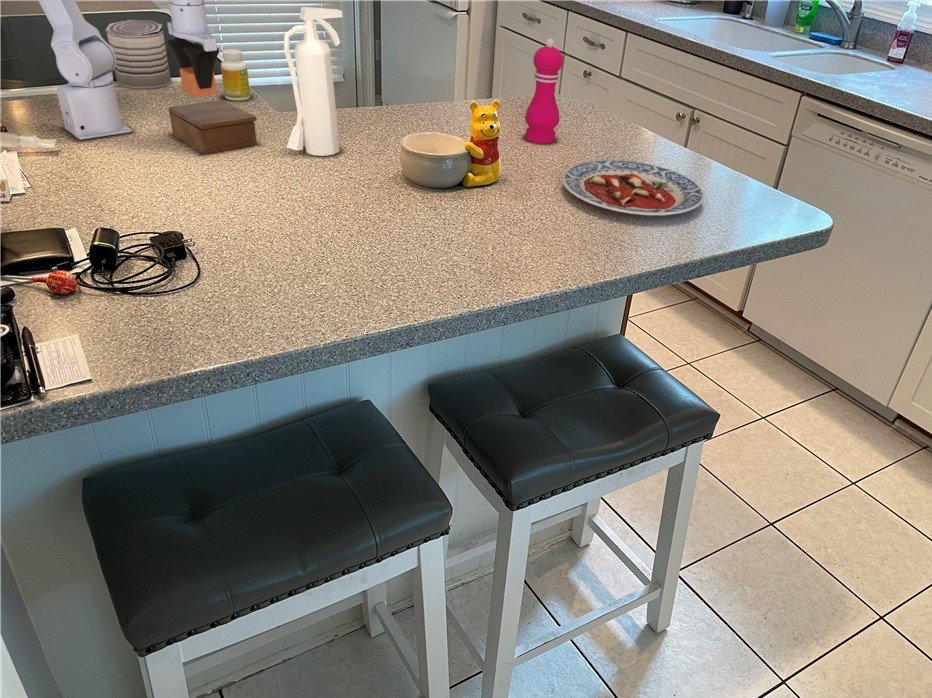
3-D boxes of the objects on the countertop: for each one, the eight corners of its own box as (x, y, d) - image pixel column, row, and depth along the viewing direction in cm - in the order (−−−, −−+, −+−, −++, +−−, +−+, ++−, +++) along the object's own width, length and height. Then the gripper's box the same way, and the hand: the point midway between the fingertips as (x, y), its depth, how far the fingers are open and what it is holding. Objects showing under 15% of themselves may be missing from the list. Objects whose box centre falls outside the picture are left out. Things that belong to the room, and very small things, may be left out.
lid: (256, 120, 144) (256, 116, 144) (202, 129, 138) (201, 125, 137) (221, 103, 152) (221, 99, 151) (169, 111, 146) (168, 107, 145)
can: (182, 83, 176) (173, 26, 169) (138, 92, 168) (127, 33, 161) (149, 72, 181) (139, 17, 174) (105, 81, 173) (93, 23, 166)
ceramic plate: (589, 228, 128) (591, 211, 126) (543, 172, 148) (544, 156, 146) (727, 223, 135) (731, 206, 133) (665, 170, 155) (668, 155, 153)
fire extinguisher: (280, 148, 147) (266, 4, 132) (340, 142, 152) (333, 3, 138) (292, 160, 142) (279, 12, 128) (353, 153, 148) (348, 10, 134)
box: (257, 144, 147) (254, 121, 145) (204, 154, 141) (200, 130, 139) (224, 126, 154) (221, 104, 152) (173, 135, 148) (169, 111, 146)
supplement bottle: (246, 102, 169) (240, 55, 163) (221, 99, 168) (215, 52, 163) (253, 95, 173) (248, 49, 167) (229, 93, 173) (223, 47, 167)
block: (193, 97, 139) (190, 74, 137) (182, 91, 141) (179, 68, 139) (217, 94, 142) (213, 71, 139) (205, 88, 144) (202, 65, 142)
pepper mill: (554, 146, 161) (565, 44, 150) (520, 141, 162) (529, 39, 150) (559, 136, 167) (571, 37, 155) (526, 131, 168) (535, 32, 156)
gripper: (229, 9, 131) (238, 91, 139) (190, -6, 139) (201, 72, 147) (188, 12, 127) (201, 96, 135) (151, -4, 135) (164, 77, 143)
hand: (198, 84), depth 141 cm, fingers closed on block, 4 cm apart
